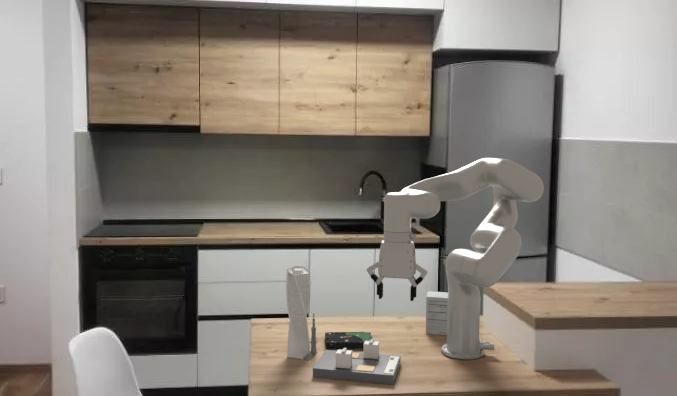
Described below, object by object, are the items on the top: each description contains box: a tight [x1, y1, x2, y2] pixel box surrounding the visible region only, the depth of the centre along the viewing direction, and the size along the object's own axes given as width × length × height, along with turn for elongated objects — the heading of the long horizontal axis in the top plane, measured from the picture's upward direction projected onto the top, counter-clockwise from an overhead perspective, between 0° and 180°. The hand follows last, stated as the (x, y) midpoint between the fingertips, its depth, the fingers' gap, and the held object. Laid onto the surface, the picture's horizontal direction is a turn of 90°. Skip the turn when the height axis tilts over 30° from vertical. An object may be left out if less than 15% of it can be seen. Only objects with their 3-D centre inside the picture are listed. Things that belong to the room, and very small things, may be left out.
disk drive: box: [324, 331, 374, 350], centre depth 204 cm, size 10×3×15 cm
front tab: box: [336, 348, 353, 369], centre depth 178 cm, size 4×3×5 cm
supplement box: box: [425, 290, 448, 336], centre depth 216 cm, size 7×7×13 cm
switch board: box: [312, 349, 402, 385], centre depth 182 cm, size 22×15×3 cm
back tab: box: [362, 338, 380, 359], centre depth 185 cm, size 4×3×5 cm
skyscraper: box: [285, 265, 319, 361], centre depth 192 cm, size 8×8×28 cm
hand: (396, 298), depth 182 cm, fingers open, 8 cm apart
